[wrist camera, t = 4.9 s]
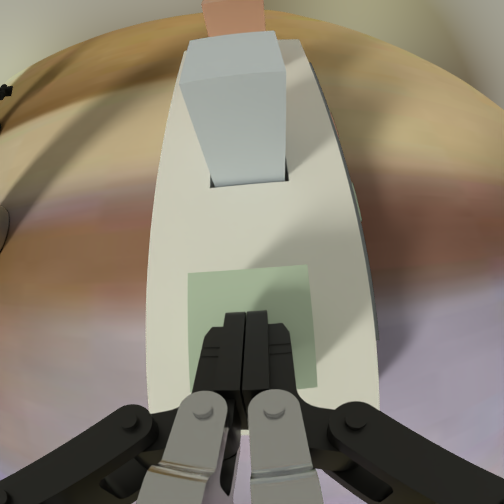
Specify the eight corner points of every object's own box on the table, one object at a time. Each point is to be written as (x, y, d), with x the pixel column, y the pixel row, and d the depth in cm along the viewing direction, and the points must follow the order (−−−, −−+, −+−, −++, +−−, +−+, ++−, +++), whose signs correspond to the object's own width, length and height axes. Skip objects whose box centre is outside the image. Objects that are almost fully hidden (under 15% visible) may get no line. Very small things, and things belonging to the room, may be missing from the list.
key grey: (284, 185, 20) (286, 71, 11) (216, 191, 21) (178, 84, 11) (277, 136, 22) (274, 30, 13) (217, 142, 22) (189, 40, 13)
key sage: (297, 370, 19) (317, 387, 10) (229, 374, 19) (190, 392, 10) (293, 304, 21) (307, 264, 12) (226, 308, 21) (187, 273, 12)
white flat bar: (363, 401, 19) (391, 415, 13) (180, 412, 20) (150, 428, 14) (303, 75, 32) (305, 39, 26) (194, 85, 33) (184, 51, 27)
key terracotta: (268, 82, 25) (262, -3, 15) (219, 87, 25) (201, 4, 16) (264, 59, 26) (258, -15, 17) (220, 64, 27) (206, -9, 17)
